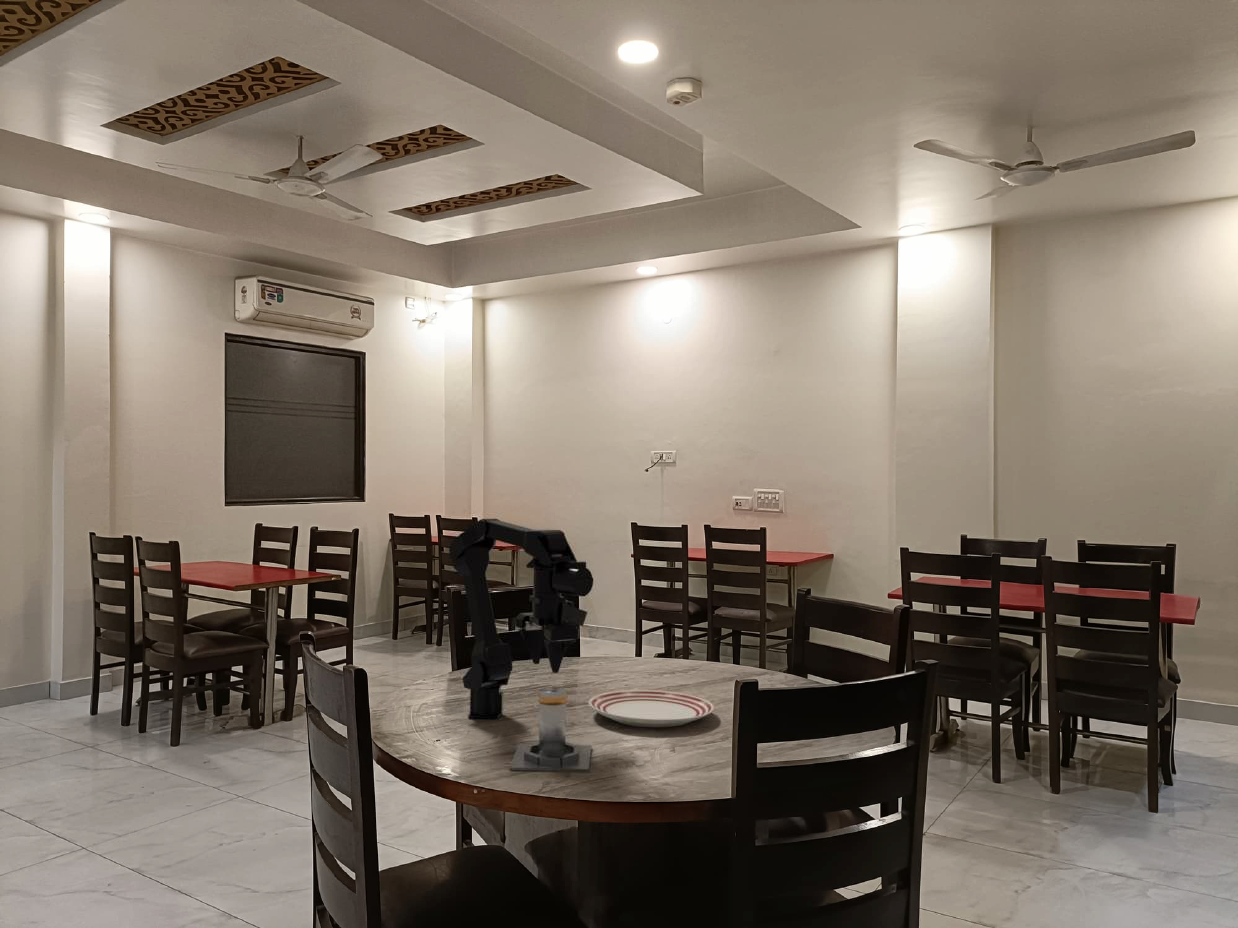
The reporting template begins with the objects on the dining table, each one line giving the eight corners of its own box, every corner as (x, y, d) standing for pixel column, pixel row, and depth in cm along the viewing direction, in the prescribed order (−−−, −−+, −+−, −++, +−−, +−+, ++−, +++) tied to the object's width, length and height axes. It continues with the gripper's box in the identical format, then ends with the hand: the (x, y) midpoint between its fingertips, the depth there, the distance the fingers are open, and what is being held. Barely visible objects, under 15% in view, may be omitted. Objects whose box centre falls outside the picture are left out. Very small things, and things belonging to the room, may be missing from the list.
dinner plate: (640, 695, 217) (641, 681, 217) (737, 716, 200) (738, 701, 200) (562, 717, 196) (562, 702, 196) (662, 743, 179) (663, 726, 179)
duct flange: (509, 770, 160) (509, 760, 160) (518, 746, 174) (519, 737, 174) (588, 771, 160) (588, 762, 160) (591, 747, 174) (591, 739, 174)
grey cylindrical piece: (532, 757, 166) (533, 691, 166) (546, 749, 171) (547, 686, 171) (558, 761, 164) (559, 695, 164) (571, 753, 168) (571, 689, 169)
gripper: (603, 595, 180) (602, 673, 180) (562, 584, 197) (561, 656, 196) (552, 598, 175) (551, 678, 175) (515, 586, 191) (514, 660, 191)
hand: (545, 668), depth 184 cm, fingers open, 9 cm apart
